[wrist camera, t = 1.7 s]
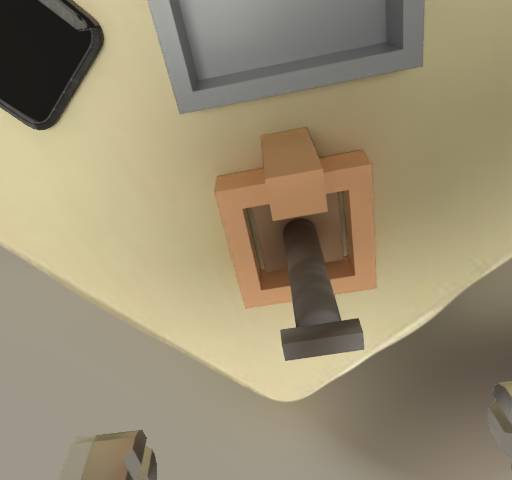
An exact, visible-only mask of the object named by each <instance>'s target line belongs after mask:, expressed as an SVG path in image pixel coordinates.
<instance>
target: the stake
mask: <svg viewBox="0 0 512 480" xmlns="http://www.w3.org/2000/svg"><path fill="white" fill-rule="evenodd" d="M326 200H327V209H328V212H323V213H317V214H311V215H305V216H300V217H294V218H288V219H282V220H276V221H273V220H272V214H271V209H270V204H266V205H261V206H255V207H252V211H253V216H254V220H255V225H256V229H257V234H258V239H259V243H260V248H261V252H262V257H263V261H264V266H265V271H266V272H270V271H276V270H282V269H288V273H289V280H290V287H291V294H292V301H293V308H294V315H295V322H296V328H290V329H283V330H281V340H282V347H283V352H284V356H285V361H288V360H295V359H302V358H309V357H316V356H322V355H329V354H336V353H343V352H350V351H357V350H364V338H363V331H362V328H361V325H360V322H359V319H358V318H357V319H350V320H343V321H341V318H340V314H339V311H338V307H337V303H336V300H335V296H334V293H333V289H332V285H331V282H330V278H329V275H328V271H327V267H326V264H325V262H331V261H338V260H344V255H343V244H342V233H341V222H340V211H339V199H338V192H335V193H329V194H326Z"/></svg>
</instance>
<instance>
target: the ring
mask: <svg viewBox="0 0 512 480" xmlns="http://www.w3.org/2000/svg"><path fill="white" fill-rule="evenodd" d="M261 143H262V154H263V165H264V168H262V169H256V170H251V171H245V172H240V173H234V174H229V175H224V176H218V177H217V179H216V186H215V192H214V193H215V196H216V200H217V204H218V208H219V211H220V215H221V219H222V223H223V226H224V230H225V234H226V238H227V241H228V245H229V249H230V253H231V256H232V260H233V264H234V268H235V271H236V275H237V279H238V283H239V286H240V290H241V294H242V298H243V301H244V305H245V309H246V308H252V307H259V306H265V305H271V304H278V303H284V302H291V301H292V294H291V287H290V280H289V273H288V269H282V270H276V271H270V272H266V271H265V270H261V271H260V267H259V263H258V258H257V254H256V250H255V245H254V241H253V236H252V232H251V228H250V223H249V219H248V214H247V210H246V208H249V207H255V206H261V205H266V204H270V209H271V214H272V220H273V221H276V220H282V219H288V218H294V217H300V216H305V215H311V214H317V213H323V212H328V209H327V200H326V194H329V193H335V192H340V191H343V199H344V212H345V224H346V236H347V248H348V256H347V257H344V260H338V261H331V262H325V264H326V267H327V271H328V275H329V278H330V282H331V285H332V289H333V293H334V295H336V294H342V293H349V292H355V291H361V290H368V289H374V288H377V285H376V260H375V235H374V211H373V186H372V164H371V162H370V161H369V159H368V158H367V157H366V155H365V154H364V152H363V151H362V150H360V151H354V152H349V153H343V154H338V155H332V156H327V157H322V158H319V157H318V155H317V152H316V150H315V147H314V145H313V143H312V140H311V138H310V135H309V133H308V130H307V128H306V127H305V128H300V129H294V130H289V131H284V132H279V133H273V134H268V135H263V136H261Z"/></svg>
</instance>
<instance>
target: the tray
mask: <svg viewBox="0 0 512 480" xmlns="http://www.w3.org/2000/svg"><path fill="white" fill-rule="evenodd" d="M147 1H148V4H149V8H150V11H151V15H152V18H153V22H154V25H155V29H156V32H157V36H158V39H159V43H160V46H161V50H162V53H163V57H164V60H165V64H166V67H167V71H168V74H169V78H170V81H171V85H172V88H173V92H174V95H175V99H176V103H177V106H178V110H179V113H180V114H184V113H189V112H194V111H199V110H204V109H209V108H214V107H219V106H224V105H229V104H234V103H240V102H245V101H250V100H255V99H260V98H265V97H270V96H275V95H280V94H285V93H290V92H295V91H300V90H305V89H310V88H315V87H320V86H325V85H330V84H336V83H341V82H346V81H351V80H356V79H361V78H366V77H371V76H376V75H381V74H386V73H391V72H396V71H401V70H406V69H411V68H416V67H421V66H423V37H424V0H147Z"/></svg>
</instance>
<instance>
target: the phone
mask: <svg viewBox="0 0 512 480" xmlns="http://www.w3.org/2000/svg"><path fill="white" fill-rule="evenodd" d="M103 42H104V36H103V32H102V29H101V27H100V25H99V23H98V22H97V21H96V20H95V19H94V18H93V17H92V16H91V15H90V14H88V13H87V12H86V11H85V10H83V9H82V8H81V7H80V6H79V5H77V4H76V3H75V2H74V1H72V0H0V108H2V109H3V110H5V111H6V112H8V113H9V114H11V115H12V116H14V117H15V118H17V119H18V120H20V121H21V122H23V123H24V124H26V125H27V126H29V127H31V128H33V129H37V130H46V129H48V128H50V127H51V126H53V125H54V124H55V123H56V122H57V121H58V120H59V118H60V117H61V115H62V114H61V113H63V112H64V110H65V108H66V107H67V105H68V103H69V102H70V100H71V98H72V97H73V95H74V93H75V92H76V90H77V88H78V87H79V85H80V83H81V82H82V80H83V79H84V77H85V75H86V74H87V72H88V70H89V69H90V67H91V65H92V64H93V62H94V60H95V59H96V57H97V55H98V54H99V52H100V50H101V48H102V46H103Z"/></svg>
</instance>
